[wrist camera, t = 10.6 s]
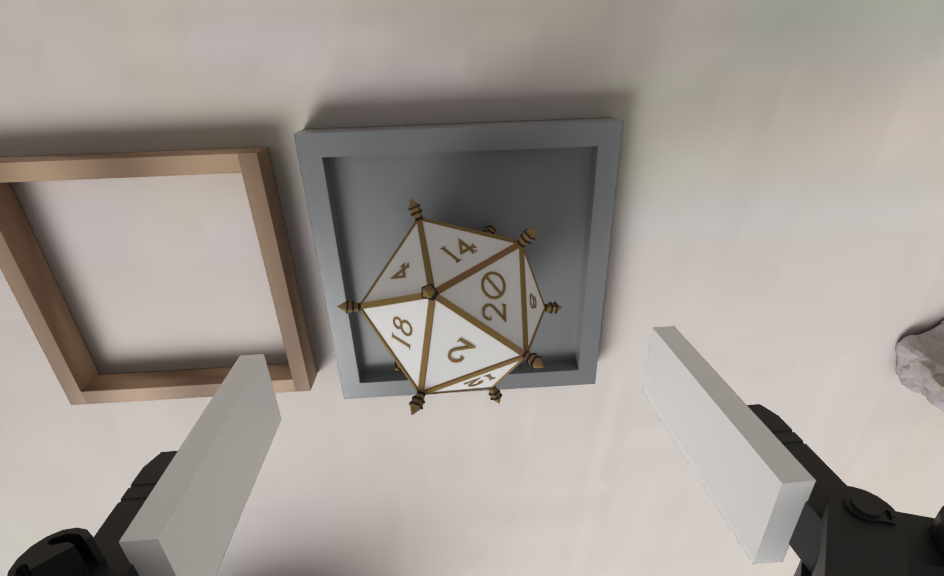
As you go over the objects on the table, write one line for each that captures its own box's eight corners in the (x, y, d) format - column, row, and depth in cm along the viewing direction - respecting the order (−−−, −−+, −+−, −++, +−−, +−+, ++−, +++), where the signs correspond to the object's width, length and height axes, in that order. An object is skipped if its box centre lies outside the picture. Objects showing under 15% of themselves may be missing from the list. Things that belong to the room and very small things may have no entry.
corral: (90, 387, 26) (71, 404, 25) (-22, 158, 21) (-54, 165, 19) (317, 374, 27) (310, 390, 25) (268, 146, 21) (256, 152, 20)
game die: (427, 221, 26) (350, 139, 17) (577, 256, 25) (590, 188, 15) (380, 376, 25) (270, 385, 16) (532, 425, 24) (514, 470, 14)
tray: (348, 382, 27) (344, 399, 26) (303, 129, 21) (293, 134, 20) (587, 367, 28) (595, 383, 26) (611, 117, 21) (623, 121, 20)
